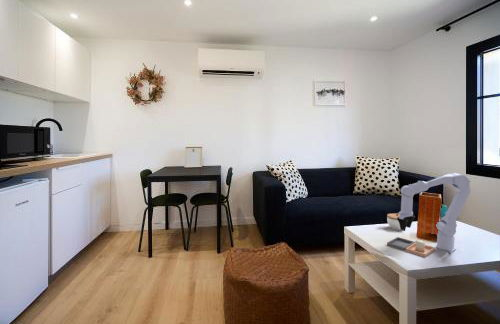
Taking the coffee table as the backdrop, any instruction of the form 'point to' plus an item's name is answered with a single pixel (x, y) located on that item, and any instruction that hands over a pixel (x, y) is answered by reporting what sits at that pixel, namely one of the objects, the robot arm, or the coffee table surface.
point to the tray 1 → (400, 243)
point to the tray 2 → (427, 251)
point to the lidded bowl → (393, 221)
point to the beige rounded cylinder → (420, 246)
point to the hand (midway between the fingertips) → (405, 228)
